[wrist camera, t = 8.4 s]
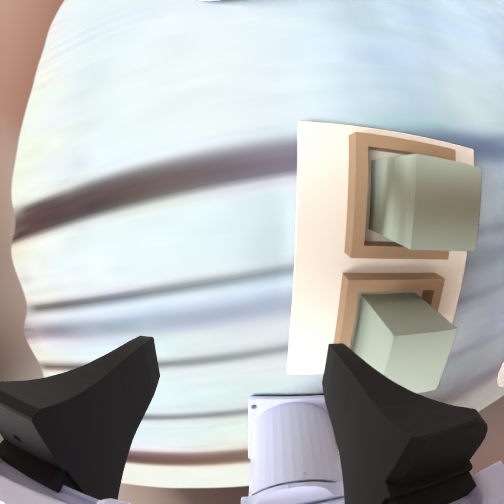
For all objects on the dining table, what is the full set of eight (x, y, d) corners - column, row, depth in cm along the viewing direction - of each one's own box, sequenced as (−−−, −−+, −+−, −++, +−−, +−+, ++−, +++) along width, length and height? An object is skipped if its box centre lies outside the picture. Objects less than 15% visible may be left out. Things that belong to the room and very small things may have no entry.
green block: (424, 231, 18) (475, 251, 12) (368, 228, 18) (410, 249, 12) (427, 168, 17) (481, 167, 11) (371, 160, 17) (415, 153, 11)
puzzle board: (435, 355, 21) (472, 400, 15) (286, 367, 22) (293, 430, 15) (466, 149, 17) (526, 146, 10) (297, 123, 18) (315, 93, 11)
